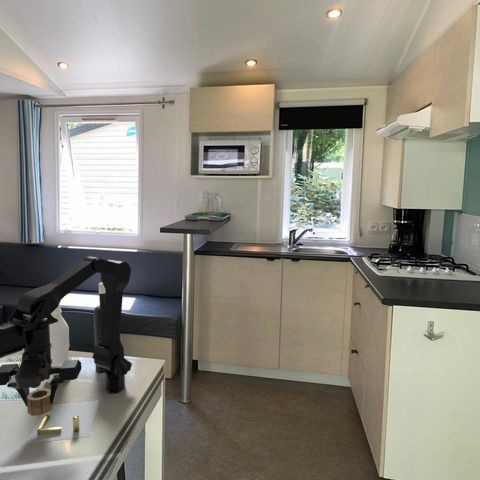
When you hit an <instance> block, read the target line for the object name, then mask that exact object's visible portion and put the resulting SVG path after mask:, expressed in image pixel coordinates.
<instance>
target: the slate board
mask: <svg viewBox="0 0 480 480" xmlns="http://www.w3.org/2000/svg"><path fill="white" fill-rule="evenodd" d="M99 404H100V400H92V401H91V400H90V401H82V402H71V403H61V404H59V403H58V404H53V407H52V409H51V410H50V418H49V419H48V420H47V422H46V424H45V426H44V428H43V429H46V428H56V427H61V430H62V432H61V433H56V434H47V435H38V436H37V430H38V428H39V426H40V425H41V423H42V421H43V419H44V417H45V414H43V415H42V414H41V415H39V418H38V420H37V422H36V424H35V426H34V428H33V430H31V433H30V436H29V437H28V439H27V441H26V442H25V444H26V445H28V444H29V445H30V444H35V443H36V444H37V443H46V442H53V441H56V442H57V441H62V440H70V439H72V440H73V439H81V438H89V437H90V436H91V431H92V428H93V425H94V421H95V418H96V415H97V411H98V407H99ZM74 416H79V431H78V432H73V417H74Z"/></svg>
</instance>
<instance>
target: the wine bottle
mask: <svg viewBox="0 0 480 480" xmlns="http://www.w3.org/2000/svg"><path fill="white" fill-rule="evenodd" d="M98 297H99V300H98V301H99V305H97V306H96V307H94V309H93V329H94V332H93V333H94V345H98V344H99V342H100V341H101V339H102V332H103V318H104V305H105V288H104V286H103V283H102V281H101V282H98ZM95 372H96V373H98V374H105V371H103V370H100V369H99V367H98V366H97V365H96V364H95Z"/></svg>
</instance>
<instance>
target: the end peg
mask: <svg viewBox="0 0 480 480" xmlns="http://www.w3.org/2000/svg"><path fill="white" fill-rule="evenodd" d="M78 431H79V416H74V417H73V432H78Z"/></svg>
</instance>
